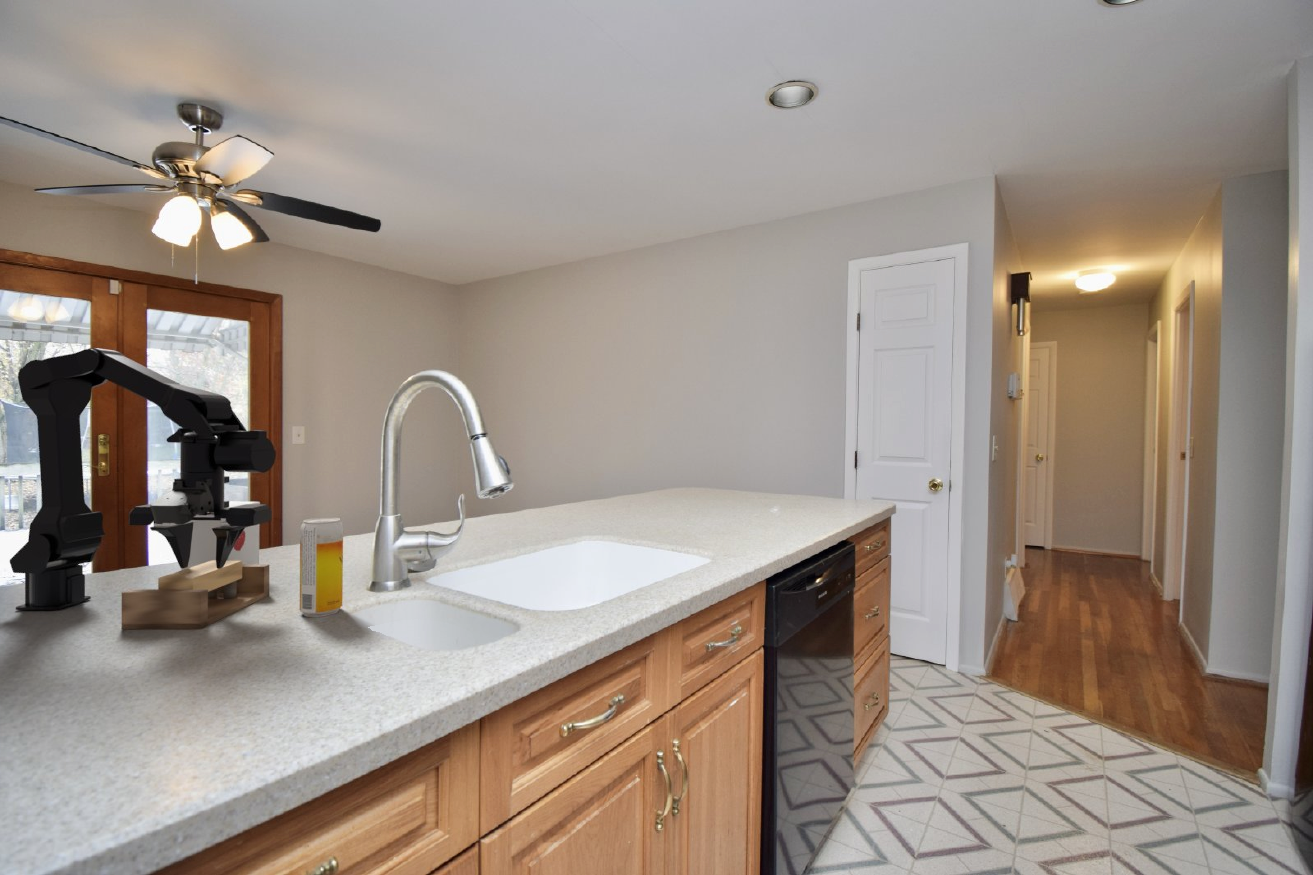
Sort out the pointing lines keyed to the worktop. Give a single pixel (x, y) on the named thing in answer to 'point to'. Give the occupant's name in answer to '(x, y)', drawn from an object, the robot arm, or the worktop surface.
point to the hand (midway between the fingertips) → (202, 568)
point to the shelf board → (202, 576)
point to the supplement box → (206, 541)
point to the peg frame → (193, 602)
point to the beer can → (321, 566)
